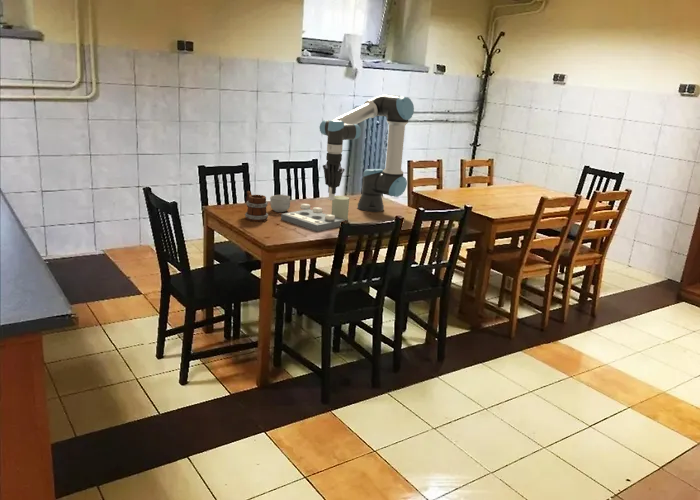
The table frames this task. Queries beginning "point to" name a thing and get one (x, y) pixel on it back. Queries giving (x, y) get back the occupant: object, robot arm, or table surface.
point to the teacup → (280, 203)
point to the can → (340, 207)
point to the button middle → (317, 210)
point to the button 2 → (330, 217)
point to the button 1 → (305, 206)
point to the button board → (311, 220)
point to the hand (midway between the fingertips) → (331, 199)
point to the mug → (256, 208)
